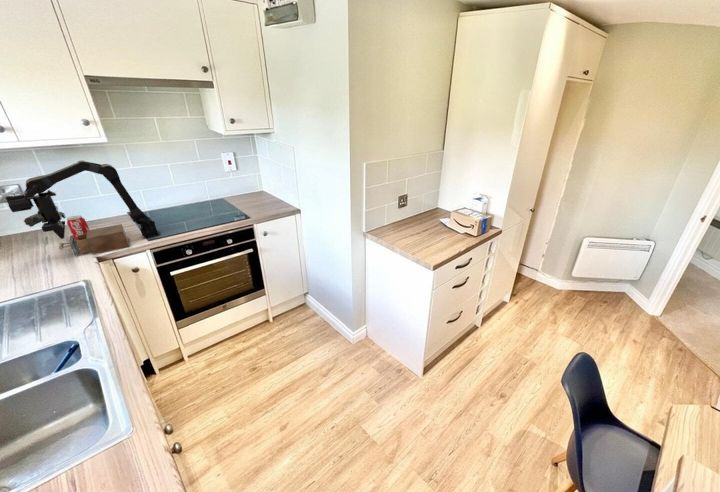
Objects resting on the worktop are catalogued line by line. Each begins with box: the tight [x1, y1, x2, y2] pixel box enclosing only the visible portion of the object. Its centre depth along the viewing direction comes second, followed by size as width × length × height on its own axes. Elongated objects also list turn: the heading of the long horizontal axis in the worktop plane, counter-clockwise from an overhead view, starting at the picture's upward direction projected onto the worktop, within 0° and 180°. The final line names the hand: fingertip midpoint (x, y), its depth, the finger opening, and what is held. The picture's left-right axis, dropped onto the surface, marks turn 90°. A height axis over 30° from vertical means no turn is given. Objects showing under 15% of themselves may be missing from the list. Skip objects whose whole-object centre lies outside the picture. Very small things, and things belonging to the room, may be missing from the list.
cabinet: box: [86, 223, 130, 255], centre depth 161 cm, size 14×12×9 cm
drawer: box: [58, 233, 93, 257], centre depth 155 cm, size 17×10×7 cm, turn 130°
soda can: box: [66, 215, 91, 241], centre depth 167 cm, size 7×7×12 cm
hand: (62, 238), depth 150 cm, fingers closed
